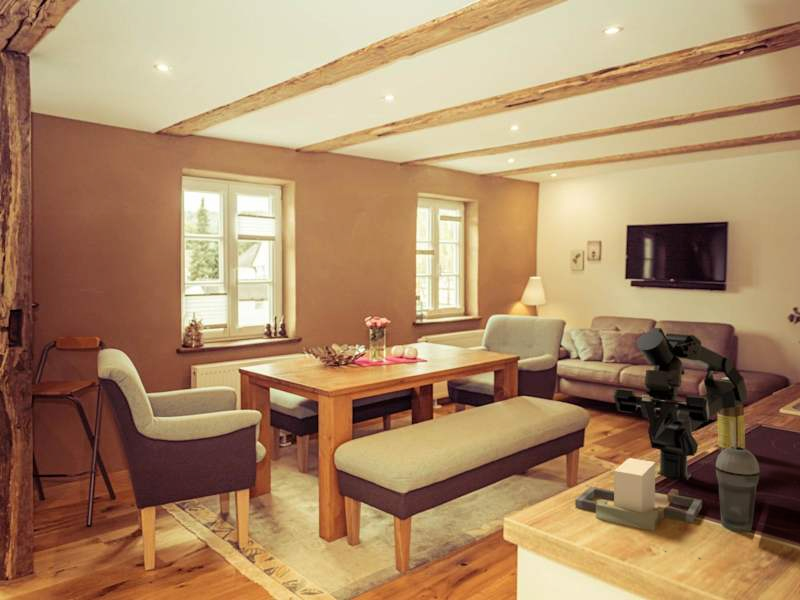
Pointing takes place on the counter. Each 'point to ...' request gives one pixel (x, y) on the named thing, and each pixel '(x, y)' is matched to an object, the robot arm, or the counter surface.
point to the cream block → (635, 485)
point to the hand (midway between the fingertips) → (653, 437)
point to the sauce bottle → (726, 429)
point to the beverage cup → (737, 486)
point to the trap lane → (636, 517)
